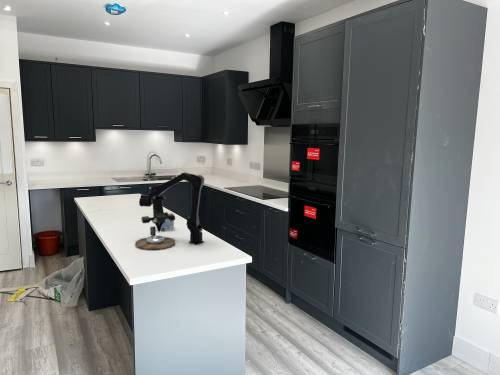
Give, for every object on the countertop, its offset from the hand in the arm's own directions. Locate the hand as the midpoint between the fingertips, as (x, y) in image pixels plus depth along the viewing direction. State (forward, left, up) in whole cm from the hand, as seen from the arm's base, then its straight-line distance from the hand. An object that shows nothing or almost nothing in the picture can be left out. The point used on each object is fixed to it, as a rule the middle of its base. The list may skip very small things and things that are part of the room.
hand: (159, 232), depth 224 cm
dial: (-2, +6, -3) cm, 7 cm away
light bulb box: (+13, -20, -5) cm, 25 cm away
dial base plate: (-4, +8, -5) cm, 10 cm away
